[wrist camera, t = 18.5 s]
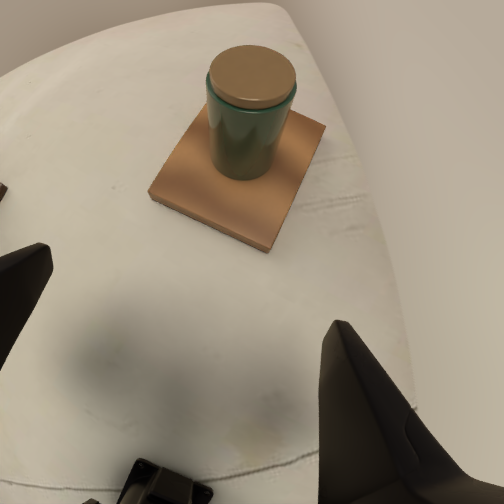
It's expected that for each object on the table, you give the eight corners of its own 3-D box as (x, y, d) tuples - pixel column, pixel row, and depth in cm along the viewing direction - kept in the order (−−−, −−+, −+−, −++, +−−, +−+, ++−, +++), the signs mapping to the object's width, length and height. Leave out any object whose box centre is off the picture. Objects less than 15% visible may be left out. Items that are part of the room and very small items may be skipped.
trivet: (267, 253, 23) (270, 249, 22) (151, 198, 23) (146, 191, 22) (321, 134, 26) (326, 125, 24) (221, 93, 26) (221, 82, 24)
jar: (213, 184, 22) (208, 107, 13) (207, 129, 23) (203, 45, 14) (280, 177, 23) (309, 102, 14) (268, 124, 24) (288, 42, 15)
